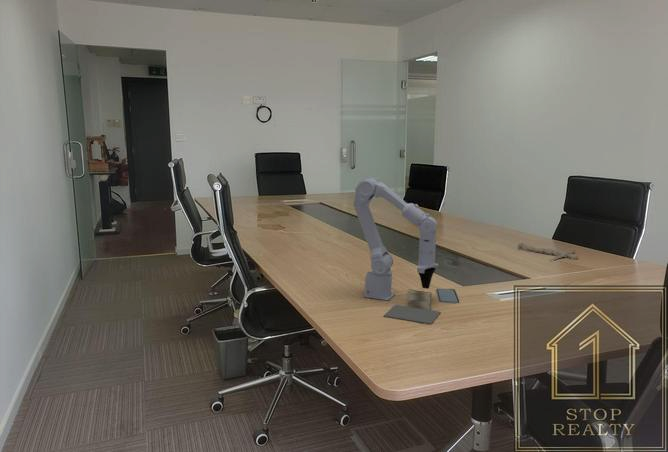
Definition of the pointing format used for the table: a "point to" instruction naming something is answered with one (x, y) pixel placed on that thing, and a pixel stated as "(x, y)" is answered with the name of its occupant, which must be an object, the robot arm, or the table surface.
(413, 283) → the table surface
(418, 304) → the brown wooden block
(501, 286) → the table surface
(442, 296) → the smartphone
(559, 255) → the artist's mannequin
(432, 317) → the mat
